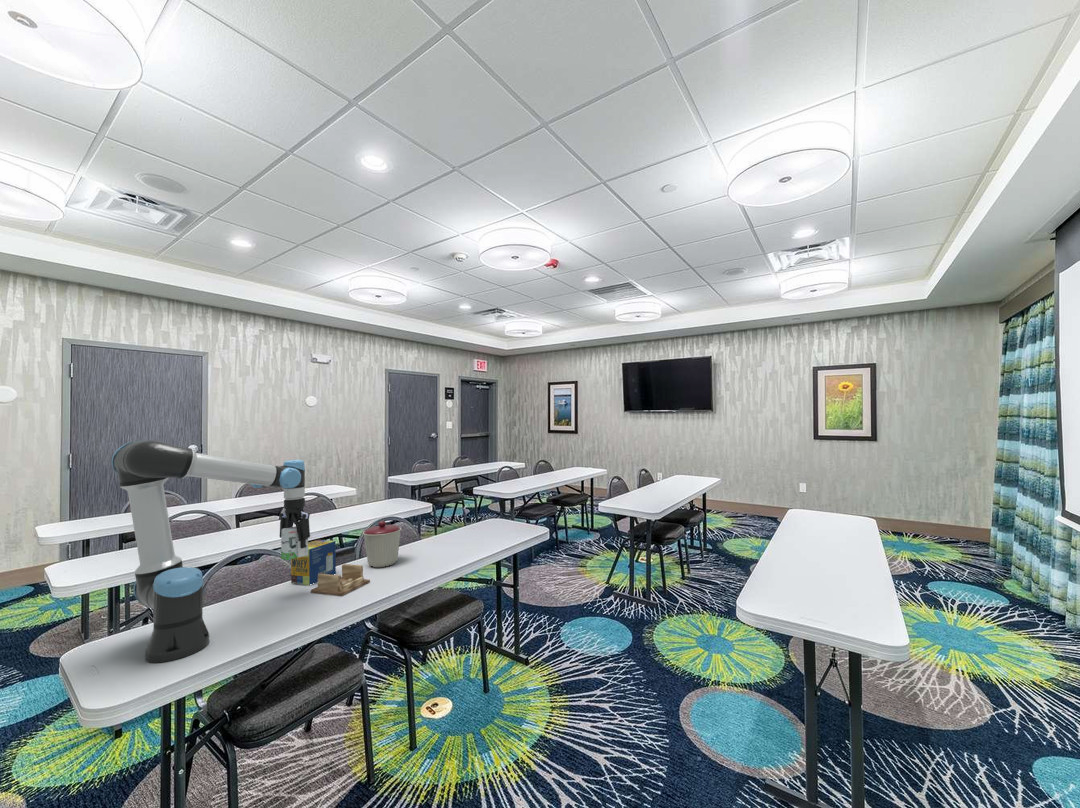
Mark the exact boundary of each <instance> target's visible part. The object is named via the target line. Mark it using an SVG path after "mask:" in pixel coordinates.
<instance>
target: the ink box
mask: <svg viewBox="0 0 1080 808" xmlns="http://www.w3.org/2000/svg"><path fill="white" fill-rule="evenodd" d="M302 537H303V536H302ZM280 540H281V541H280V546H281V547H280V549H281V550H280V551H281V552H280V559H282V560H285V561H289V560H290V561H291V559H294V558H298V540H299V536H298V532H297V528H296V525H295V526H293V527H289V528H283V529H282V533H281V538H280ZM308 543H309V538H307V539H306V547H305V556H307V555H308ZM302 557H303V556H302Z"/></svg>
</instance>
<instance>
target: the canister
mask: <svg viewBox="0 0 1080 808" xmlns="http://www.w3.org/2000/svg"><path fill="white" fill-rule="evenodd" d="M401 531H402V527H401V526H398V525H396V524H387V521H385V520H380V521H379V522H378V525H374V526H371V527H368V528H366V529H365V530H364V531H362V535H363V538H364V545H365V553H366V559H367V563H368V565H369V566H370V567H371V566H373V567H372V568H386V567H390V566H392V565H395V564H396V563H397V561H398V558H399V549H400V548H399V547H400V538H401ZM389 565H390V566H389ZM385 566H386V567H385Z"/></svg>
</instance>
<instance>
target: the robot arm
mask: <svg viewBox="0 0 1080 808" xmlns="http://www.w3.org/2000/svg"><path fill="white" fill-rule="evenodd" d="M111 466H112V469H113V470H114V472H116V474H117V477H118V482H119V483H118V484H119V486H120V487H119V488H120V489H123V490H125V491H126V492H127V495H128V501H129V506H130V513H131V519H132V525H133V531H134V536H135V537H134V538H135V543H136V548H137V554H138V561H139V566H138V567H137V568H136V569H135V570H134V577H135V582H134V585H133V594H134V597H135V599H136V600H137V602H138V603H140V604H141V605H143V606H146V607H149V609H152V610H153V626H152V627H153V629H152V633H151V636H150V638H149V641H148V643H147V647H146V649H145V652H144V653H145V654H144V655H145V657H144V660H145V661H146V662H148V663H154V664H155V663H165V662H166V663H167V662H171V661H175V660H178V659H181V658H185V657H188V656H191V655H193V654H195V653H198V652H199V651H201V650H203V649H205V648H206V647H207V646H208V645H209V643H210V633H209V631H208V627H207V625H206V623H205V621H204V618H203V597H204V596H203V595H204V589H203V588H204V577H203V572H202V571H201V569H199V568H197V567H191V566H190V567H187V566H183V558H182V557H180V556H177V555H176V554H175V547H174V541H173V537H172V530H171V524H170V517H169V513H168V505H167V499H166V494H165V493H166V492H165V488H164V485H165V483H166V482H167V481H168V480H169V478H171V479H185V478H186V477H190V478H191V477H193V478H199V479H207V480H216V481H223V482H231V483H241V484H247V485H249V484H250V487H252V488H254V489H263V488H276V489H277V488H279V489H283V499H284V500H283V509H285V512H280V513H279V519H280V520H279V521H280V523H279V538H280V539H281V533H282V529H283V528H289V527H294V525H295V526H296V528H297V532H298V536H299V540H298V557H302V556H305V547H306V539H307V538H308V539H309V538H310V537H311V533H310V530H311V529H310V516H311V515H310V513H309V512H305V511H304V507H305V506H306V498H305V496H306V494H305V493H306V491H305V489H306V487H305V486H306V483H305V482H306V480H305V479H306V478H305V477H306V476H305V475H306V468H305V467H306V466H305V461H304V460H303V459H292V460H284V461H283V465H280V466H277V465H273V464H266V463H260V462H254V461H249V460H242V459H235V458H229V457H225V456H217V455H210V454H205V453H199V452H195V451H194V449H193V448H188V447H184V446H179V445H175V444H171V443H168V442H165V441H160V440H156V439H155V440H152V439H151V440H150V439H149V440H148V439H147V440H134V441H130V442H127V443H125V444H123V445H121V446H120V447H119V448H117V449H116V451H114V453H113V455H112V457H111ZM302 536H303V537H302Z"/></svg>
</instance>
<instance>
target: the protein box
mask: <svg viewBox="0 0 1080 808" xmlns="http://www.w3.org/2000/svg"><path fill="white" fill-rule="evenodd" d="M336 546H337V545H336V540H330V539H329V540H328V539H316V540H315V539H314V540H313V541H310V542H309V541H308V555H307V556H303V557H298V558H294V559H290V565H291V566H290V567H291V568H290V573H291V575H290V584H291V583H294V584H293V585H298V584H302V585H301V586H307V585H310V584H312V585H314V584H316V582H317V583H318V575H319V574H330V575H334V574H336V575H337V572H336V570H337V568H336V567H337V566H336V565H337V563H336V562H337V557H336V556H337V555H336V554H337V553H336V552H337V551H336ZM313 583H314V584H313ZM310 586H311V585H310Z"/></svg>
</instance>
